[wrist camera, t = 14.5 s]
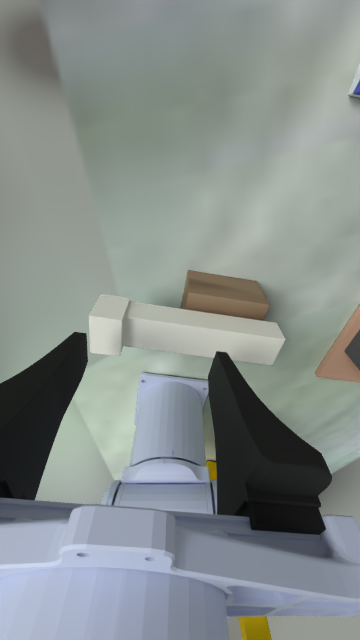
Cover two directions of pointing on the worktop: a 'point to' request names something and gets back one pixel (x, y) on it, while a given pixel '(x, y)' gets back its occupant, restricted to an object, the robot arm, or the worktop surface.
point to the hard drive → (355, 85)
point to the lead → (354, 350)
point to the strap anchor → (224, 296)
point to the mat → (342, 355)
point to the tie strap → (180, 331)
